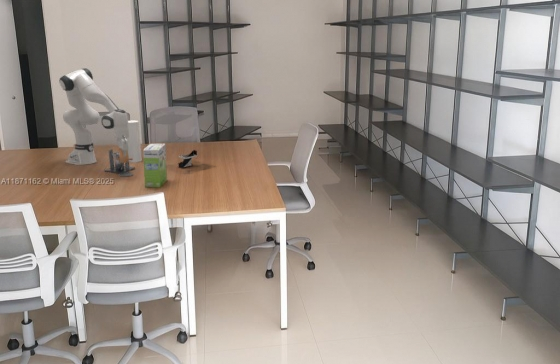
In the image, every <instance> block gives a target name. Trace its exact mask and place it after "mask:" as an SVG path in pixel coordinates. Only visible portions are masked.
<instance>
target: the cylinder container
mask: <svg viewBox="0 0 560 364" xmlns="http://www.w3.org/2000/svg"><path fill="white" fill-rule="evenodd" d="M139 125H140V123H139V120H134V119H133V120H128V129H129V137H128V138H127V141H128V148H129V149H128V156H129V158H133V160H129V163H140V162H142V161H143V159H142V149H141V148H142V147H141V146H142V145H141V135H140V133H141V132H140V126H139Z"/></svg>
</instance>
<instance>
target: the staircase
mask: <svg viewBox="0 0 560 364" xmlns="http://www.w3.org/2000/svg"><path fill="white" fill-rule="evenodd" d="M196 157H198V150H196V149H193V150H192V151H191V152H190V153H188V154H183V155H182V154H181V155H178V158H181V159H182V161H180V162H178V164H177V165H178V168H179V169H181V168H182V169H184V168H186V167H190V166H192V164H193V163H192V158H196Z"/></svg>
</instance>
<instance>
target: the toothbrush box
mask: <svg viewBox="0 0 560 364" xmlns="http://www.w3.org/2000/svg"><path fill="white" fill-rule="evenodd" d="M166 151H167V149H166V143H149V144H148V145H147V146H146V147H144V149H143V150H142V155H143V174H144V176H143V177H144V187H145V188H161V187H163V185H164V184H165V182H166V181H167V180H168V173H167V171H168V170H167V154H166Z"/></svg>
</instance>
